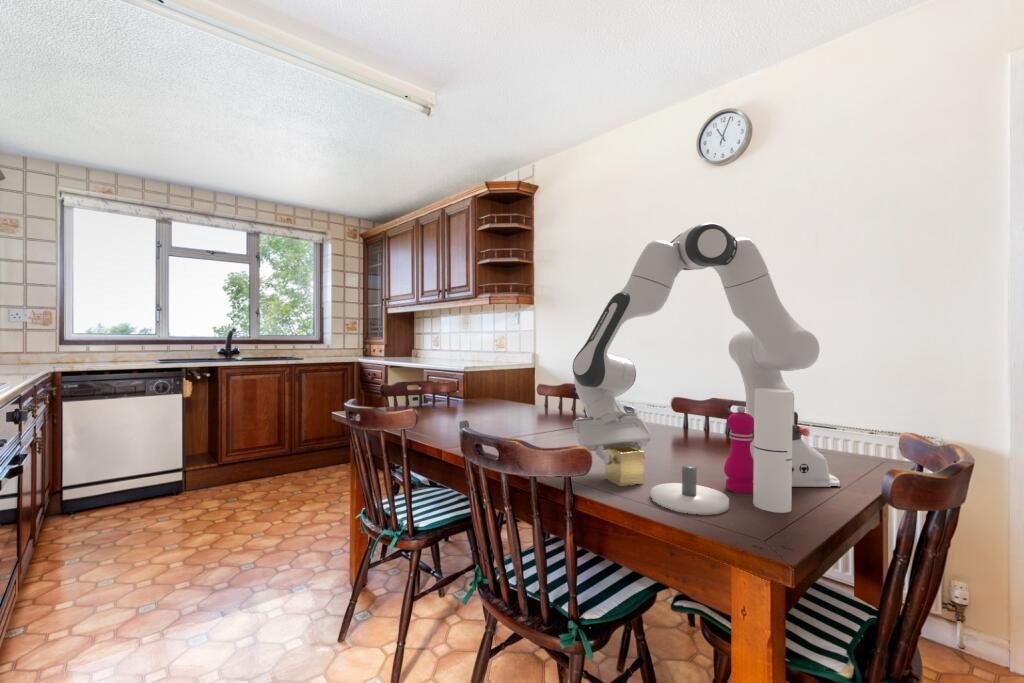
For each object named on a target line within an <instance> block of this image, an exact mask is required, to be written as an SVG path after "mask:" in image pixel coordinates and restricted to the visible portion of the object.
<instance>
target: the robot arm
mask: <svg viewBox="0 0 1024 683" xmlns="http://www.w3.org/2000/svg"><path fill="white" fill-rule="evenodd" d="M709 267H710V268H712V269H713V270H715V271H716V273H717V275H718V276H719V277H720V281H721V285H722V288H723V289H724V292H725V296H726V297H727V300H728V304H729V307H730V309H731V312H732V314H733V315H734V316H735V317H736V318H737V319H738V320H740V321H741V322H743V324H744V325H745V326H746V327H747V328H748V329H745V330H742V331H740V332H738V333H736V334H734V335H733V336H732V337H731V339H730V341H729V342H728V343H729V344H728V353H729V356H730V357H731V359H732V361H733V362H735V363H736V366H737V367H738V369H739V371H740V375H741V378H742V382H743V386H744V390H745V413H747V414H750V415H751V416H752V417H753V418H754V402H755V389H759V388H768V389H784V390H791V388H789V386H788V385H787V384H786V383H785V380H784V379H783V376H782V371H784V372H795V371H800V370H805V369H808V368H810V367H812V366H814V364H815V363H816V362H817V361H818V358H819V355H820V343H819V340H818V339H817V337H816V336H815V335H814V334H813V333H812V332H810V331H809V330H807V329H805V328H803V326H801V325H800V324H799V323H798V322H797V321H796V320H795V319H794V318H793V317H792V315H791V314H790V313H789V312H788V310H787V309H786V308H785V307H784V304H782V301H781V299H780V297H779V295H778V293H777V290H776V288H775V286H774V283H773V281H772V278H771V274H770V272H769V269H768V267H767V264H766V262H765V260H764V257H763V256H762V254H761V252H760V250H759V249H758V247H757V246H756V244H755V243H754V241H752V239H750V238H746V237H737V238H736V237H735V236H734V235H732V234H731V233H729V231H728V230H727V229H726V228H725V227H724V226H723V225H722V226H721V225H720V224H717V223H715V222H705V223H704V222H703V223H700V224H698V225H694V226H691V227H689V228H688V229H686V230H685V231H683V232H681V233H679V234H678V235H677V236H676V237H675V238H674V239H672V240H671V241H670V242H669V241H666V240H654V241H650V242H648V244H647V245H646V246H645V247H644V249H643V251H642V252H641V253H640V255H639V257H638V259H637V261H636V262H635V265H634V267H633V269H632V271H631V274H630V276H629V279H628V280H627V282H626V284H625V286H624V287H623V288H622V289H621V290H620V291H619V292H618V293H615V294H613V296H612V298H610V300H609V301H608V303H607V304H606V306H605V308H604V309H603V311H602V313H601V315H600V317H599V318H598V320H597V322H596V324H595V326H594V327H593V329H592V331H591V333H590V335H589V336H588V338H587V340H586V342H585V344H584V345H583V346H582V348H581V349H580V350H578V352H577V354H576V355H575V357H574V359H573V361H572V373H573V382H574V387H575V390H576V393H577V396H578V398H579V401H580V402H581V403H582V405H583V407H584V411H585V414H586V416H587V417H576V418H575V419H574V420H573V421H572V426H573V429H574V431H575V432H576V437H577V442H578V445H579V447H580V446H584V447H586V448H587V449H588V450H589V451H588V452H595V454H596V455H597V456H598V457H599V458H600V459H601V460H603V463H604V466H605V465H610V464H612V463H613V459H612V457H611V455H607V454H606V447H616V446H627V445H628V446H631V447H634V448H636V449H639V450H642V451H644V447H647V446H648V445H649V443H650V442H651V441H652V433H651V432H650V429H649V428H648V426H647V424H646V422H645V421H644V420H643V419H642V417H640V416H638V414H639V410H638V409H637V408H636V407H634V406H630V405H627V404H622V403H620V402H617V401H616V398H618V397H620V396H621V395H622V394H624V393H626V392H627V391H629V390H630V389H631V388H632V387H633V385H634V384H635V382H636V378H637V372H636V367H635V364H634V363H633V361H632V360H630V359H629V358H625V357H623V356H619V355H615V354H612V353H608V350H609V348H610V347H611V345H612V343H613V341H614V339H615V338H616V336H617V334H618V332H619V330H620V329H621V327H622V326H623V324H624V323H626V322H627V321H629V320H631V319H634V318H638V317H646V316H651V315H654V314H656V313H657V312H659V311H660V310H661V309H662V308H663V307H664V305H665V304H666V302H667V301H668V298H669V296H670V294H671V290H672V288H673V285H674V283H675V280H676V278H677V277H678V275H679V273H680V272H681V271H682V270H683V271H692V270H693V271H694V270H696V271H697V270H704V269H707V268H709ZM751 433H752V434H753V436H752V438H753V440H751V443H750V451H751V455H752V458H753V460H754V430H753V431H752V432H751ZM810 434H811V431H810V429H808V428H807V427H804V426H799V425H797V424H796V423H795V395H794V393H793V422H792V487H797V488H798V487H801V488H802V487H807V488H809V487H815V488H817V487H818V488H819V487H825V488H826V487H827V488H828V487H829V488H831V486H838V487H840V486H841V484H840V483H841V482H840V479H838V478H837V476H835V475H833V474H831V473H830V470H829V465H828V462H827V459H826V457H825V456H824V455H823V454H821V453H820V451H818V450H817V449H815V448H814V447H813V446H811V445H810V444H809V443H807V442H806V441H805V440H804V439H803V438H802V436H803V437H808V436H809V435H810ZM645 459H646V457H645V455H644V460H645Z"/></svg>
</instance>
